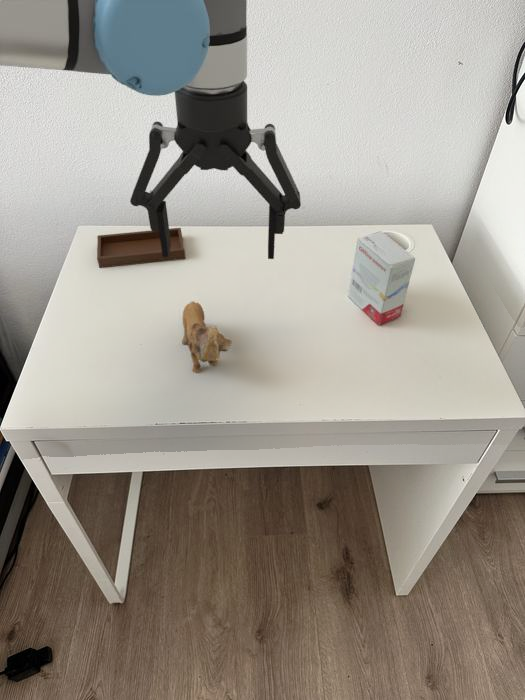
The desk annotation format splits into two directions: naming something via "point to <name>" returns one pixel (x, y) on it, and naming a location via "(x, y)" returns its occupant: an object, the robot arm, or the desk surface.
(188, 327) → the lion figurine
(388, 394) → the desk surface
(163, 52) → the robot arm
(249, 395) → the desk surface
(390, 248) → the ink box
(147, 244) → the tray
